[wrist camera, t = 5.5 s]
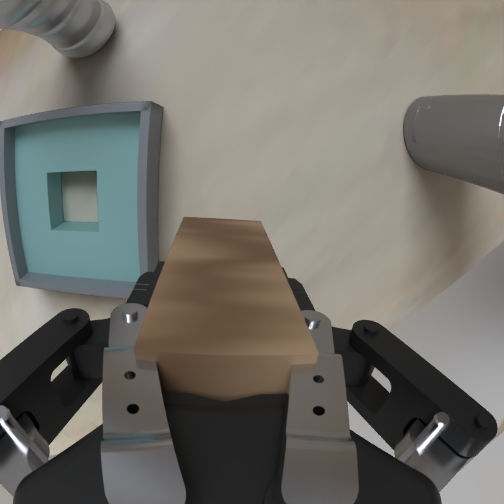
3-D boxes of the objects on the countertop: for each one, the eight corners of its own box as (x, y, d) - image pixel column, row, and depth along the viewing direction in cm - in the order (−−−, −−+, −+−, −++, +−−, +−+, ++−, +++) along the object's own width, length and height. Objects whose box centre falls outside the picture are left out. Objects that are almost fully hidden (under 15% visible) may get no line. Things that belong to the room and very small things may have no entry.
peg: (260, 221, 15) (318, 353, 6) (253, 288, 17) (286, 443, 8) (183, 216, 15) (133, 349, 6) (183, 285, 16) (156, 441, 7)
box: (163, 106, 24) (151, 101, 20) (159, 276, 31) (150, 300, 27) (26, 120, 22) (0, 121, 18) (36, 266, 29) (16, 285, 24)
